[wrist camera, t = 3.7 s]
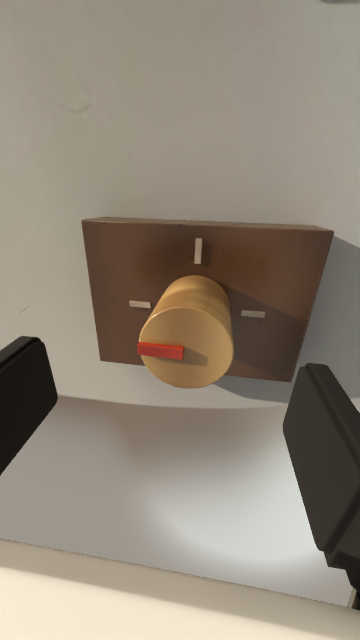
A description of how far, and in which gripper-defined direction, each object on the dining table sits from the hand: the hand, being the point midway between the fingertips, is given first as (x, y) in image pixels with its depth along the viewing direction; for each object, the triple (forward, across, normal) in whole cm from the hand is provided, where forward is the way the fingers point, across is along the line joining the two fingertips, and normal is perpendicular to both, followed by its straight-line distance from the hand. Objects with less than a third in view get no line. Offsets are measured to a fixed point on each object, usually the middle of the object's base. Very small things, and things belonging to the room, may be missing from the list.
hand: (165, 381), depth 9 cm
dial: (+7, -1, 0) cm, 7 cm away
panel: (+10, -1, 0) cm, 10 cm away
